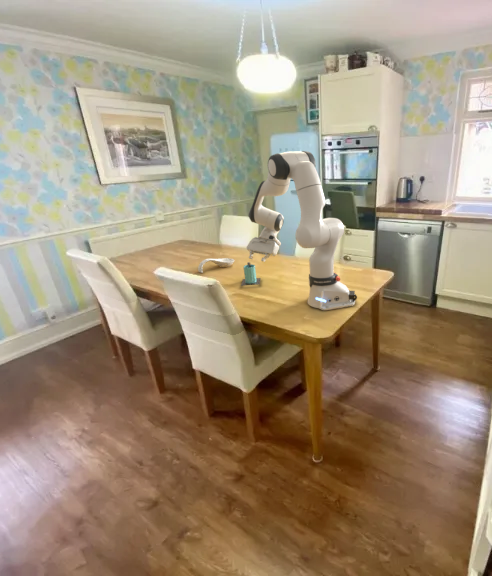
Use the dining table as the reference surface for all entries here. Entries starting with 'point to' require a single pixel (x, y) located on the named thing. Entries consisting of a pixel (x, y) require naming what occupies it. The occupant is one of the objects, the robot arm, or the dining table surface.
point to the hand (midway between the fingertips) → (256, 260)
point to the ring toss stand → (251, 283)
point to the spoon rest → (221, 262)
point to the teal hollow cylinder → (250, 274)
